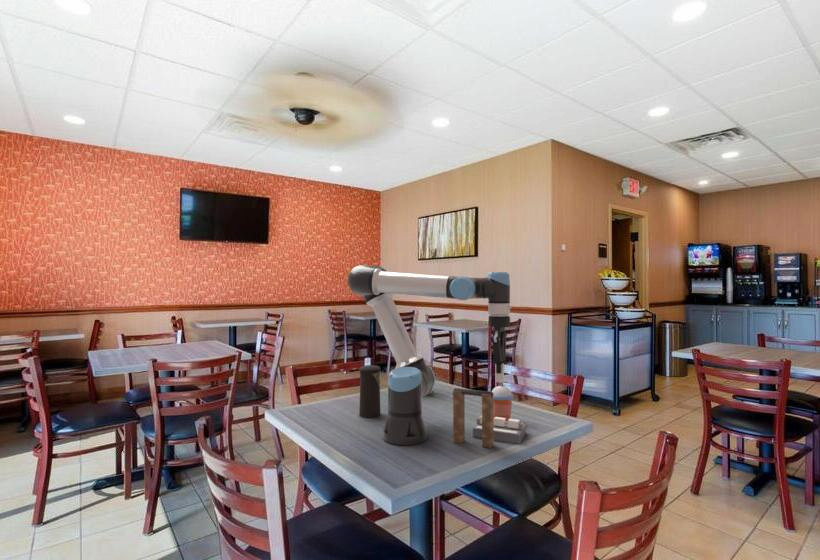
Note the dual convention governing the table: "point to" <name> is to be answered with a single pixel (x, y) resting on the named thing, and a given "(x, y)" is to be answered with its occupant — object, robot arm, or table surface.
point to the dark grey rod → (473, 392)
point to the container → (369, 391)
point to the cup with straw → (502, 402)
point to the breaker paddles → (504, 422)
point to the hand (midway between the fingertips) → (499, 381)
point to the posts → (460, 419)
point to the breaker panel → (503, 432)
